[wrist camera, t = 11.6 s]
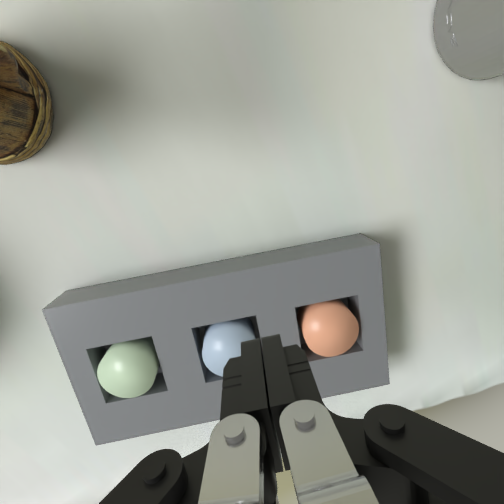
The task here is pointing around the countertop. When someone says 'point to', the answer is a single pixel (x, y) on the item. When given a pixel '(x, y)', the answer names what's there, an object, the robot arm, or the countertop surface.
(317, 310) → the terracotta button
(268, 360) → the robot arm
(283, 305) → the button panel
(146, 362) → the sage button
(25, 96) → the wooden mug
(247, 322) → the slate button
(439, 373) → the countertop surface
